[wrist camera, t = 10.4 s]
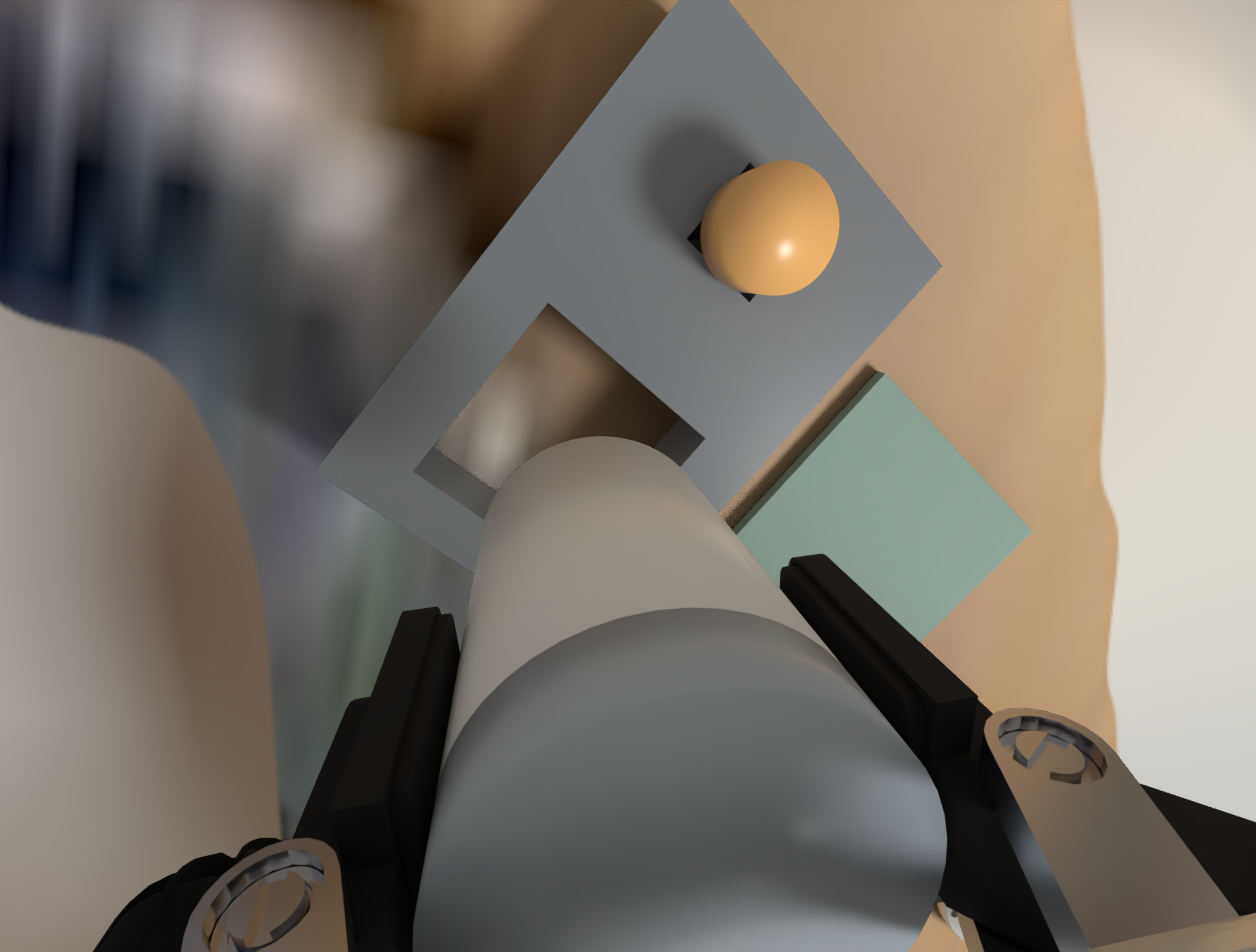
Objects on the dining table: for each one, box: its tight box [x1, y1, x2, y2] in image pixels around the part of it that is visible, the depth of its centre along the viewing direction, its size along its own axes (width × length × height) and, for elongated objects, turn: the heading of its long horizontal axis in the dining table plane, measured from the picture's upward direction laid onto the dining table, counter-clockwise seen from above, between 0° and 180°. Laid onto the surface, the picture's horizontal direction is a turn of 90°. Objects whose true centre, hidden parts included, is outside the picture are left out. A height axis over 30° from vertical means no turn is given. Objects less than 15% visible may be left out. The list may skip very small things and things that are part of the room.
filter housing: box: [315, 0, 942, 573], centre depth 22 cm, size 12×19×4 cm, turn 139°
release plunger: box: [687, 160, 839, 296], centre depth 20 cm, size 4×4×6 cm
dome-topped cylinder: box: [413, 436, 947, 952], centre depth 10 cm, size 6×6×9 cm
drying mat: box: [732, 371, 1032, 642], centre depth 28 cm, size 12×12×1 cm
